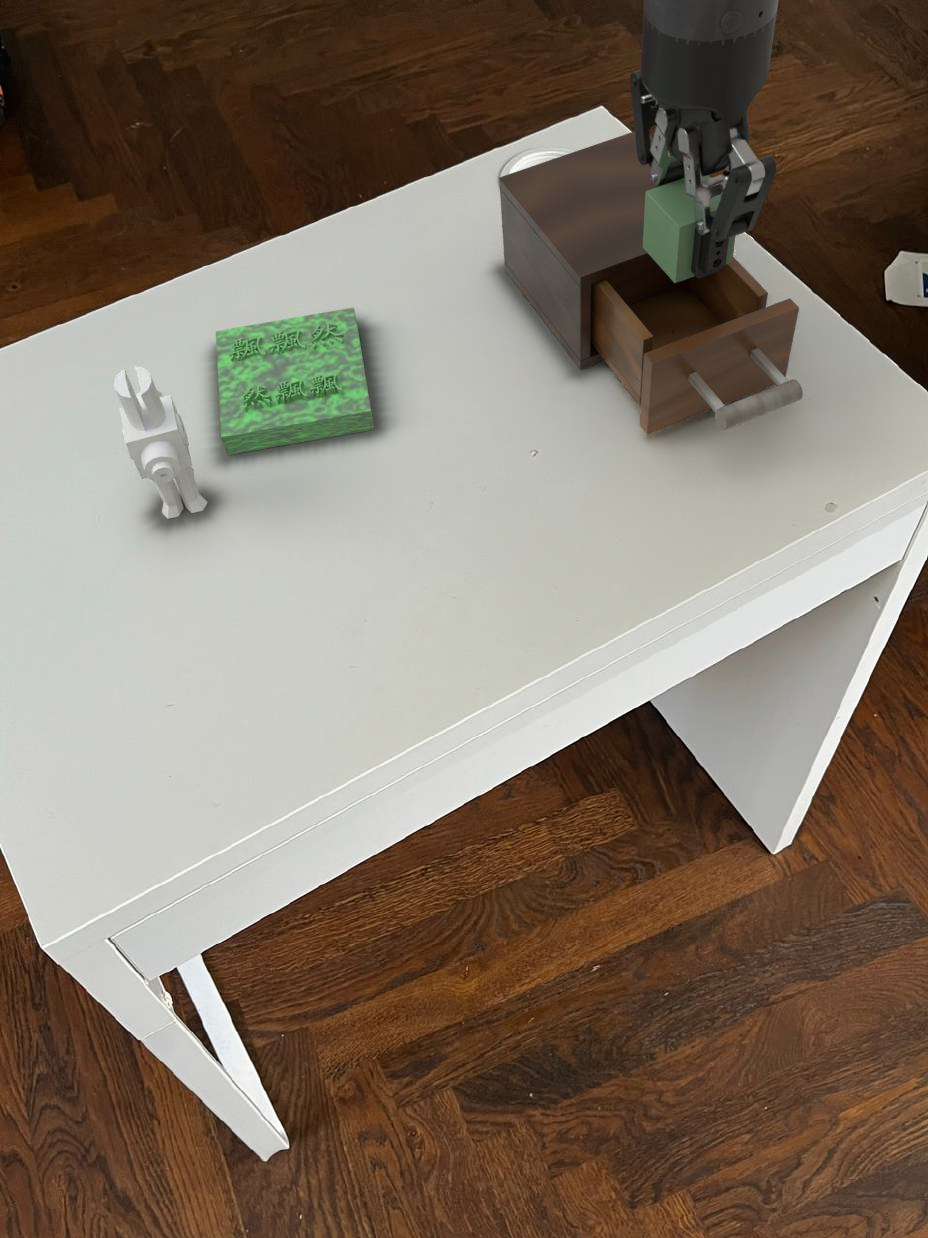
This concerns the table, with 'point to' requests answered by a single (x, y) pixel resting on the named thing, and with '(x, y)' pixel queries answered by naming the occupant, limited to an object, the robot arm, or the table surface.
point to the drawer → (695, 344)
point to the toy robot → (158, 442)
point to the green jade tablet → (292, 381)
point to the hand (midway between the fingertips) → (687, 250)
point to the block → (674, 228)
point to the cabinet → (574, 233)
